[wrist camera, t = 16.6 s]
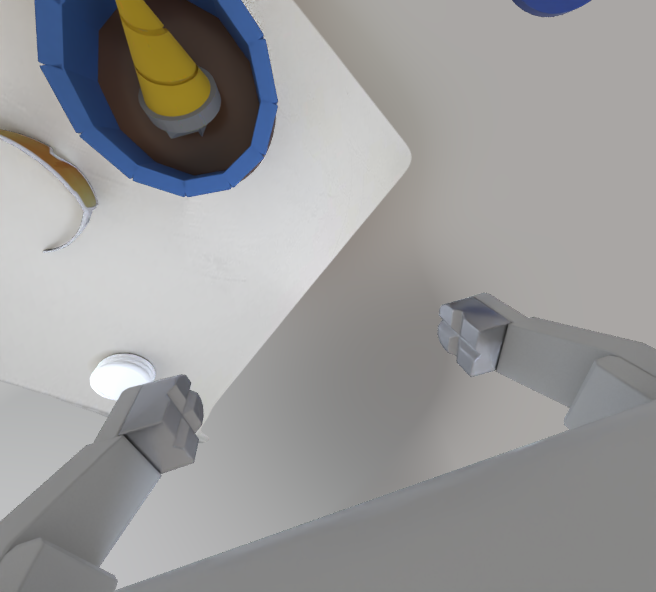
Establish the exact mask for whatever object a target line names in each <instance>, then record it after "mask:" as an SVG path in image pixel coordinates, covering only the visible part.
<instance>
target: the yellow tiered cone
mask: <svg viewBox="0 0 656 592" xmlns="http://www.w3.org/2000/svg"><path fill="white" fill-rule="evenodd" d="M115 1H116V4H117V8H118V10H119V15H120V18H121V21H122V25H123V28H124V32H125V35H126V39H127V42H128V46H129V49H130V53H131V56H132V60H133V63H134V66H135V70H136V73H137V77H138V80H139V84H140V89H139V94H138V98H139V103H140V106H141V107H142V109H143V110H144V112H145V113H146V114H147V116H148V117H149V119H150V120H151V121H152V123H153V124H154V125H155V126H157V127H158V128H160V129H162V130H164V131H166V132H167V134H168V135H169V137H170V138H171V139H173V138H177V137H180V136H184V135H188V134H191V133H195V132H199V133H200V135H201V136H203V134H204V131H205V128H206V126H207V124H208V123H209V122H211V121H212V120H213V119H214V117H215V116H216V115H217V113H218V112H219V109H220V106H221V97H220V93H219V91H218V88H217V86H216V83H215V81H214V79H213V76H212V75H211V74H210V73H209V72H208V71H207V70H205V69H204V68H202V67H200V66H197V65H196V64H195V62H194V61H193V60H192V59H191V57H190V56H189V55H188V54H187V53H186V51H185V50H184V49H183V48H182V46H181V45H180V44H179V43H178V42H177V40H176V39H175V38H174V37H173V36H172V34H171V33H170V32H169V31H168V30H167V29H166V28H162V27H163V26H164V25H163V24H162V22H161V21H160V20H159V19H158V17H157V16H156V15H155V14H154V13H153V11H152V10H151V9H150V8H149V7H148V5H147V4H146V3H145V2H144V1H143V0H115Z"/></svg>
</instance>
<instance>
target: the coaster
mask: <svg viewBox="0 0 656 592" xmlns="http://www.w3.org/2000/svg"><path fill="white" fill-rule="evenodd" d="M154 379H155V369H154V367H153V366H152V364H151V363H150V362H148V361H147V360H146V359H144V358H142V357H140V356H137V355H133V354H115V355H112V356H109V357H107V358H105V359H104V360H102V361H101V362H100V363H99V365H98V366H97V367H96V369H95V370H94V371H93V373H92V374H91V377H90V384H91V386H92V388H93V389H94V391H96V392H97V393H98V394H99V395H101V396H103V397H105V398H107V399H111V400H116V401H117V400H118V398H119V397H120V395H121V393H122V392H123V391H124V390H126V389H127V388H130V387H134V386H138V385H142V384H146V383H149V382H153V381H154Z"/></svg>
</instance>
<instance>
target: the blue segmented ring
mask: <svg viewBox="0 0 656 592" xmlns="http://www.w3.org/2000/svg"><path fill="white" fill-rule="evenodd" d="M187 1H189V2H191V3H193V4H195V5H196V6H198V7H200V8H202V9H203V10H205V11H207V12H209V13H210V14H212V15H214V16H216V17H217V18H219V20H220V21H221V22H222V24H223V25H224V27H225V28H226V29H227V31H228V32H229V34H230V35H231V36H232V38H233V39H234V41H235V42H236V43H237V45H238V46H239V48H240V49H241V50H242V52H243V53H244V55H245V56H246V57H247V59H248V60H249V62H250V65H251V70H252V74H253V79H254V83H255V87H256V92H257V96H258V100H259V105H260V106H259V110H258V115H257V119H256V124H255V128H254V132H253V137H252V141H251V146H250V147H249V148H248V149H247V150H246V151H245V152H244V153H243V154H242V155H241V156H240V157H239V158H238V159H237V160H236V161H235V162H234V163H233V164H232V165H231V166H230V167H229V168H228V169H227V170H223V171H218V172H212V173H206V174H201V175H195V176H194V175H191V174H188V173H185V172H182V171H179V170H176V169H174V168H171V167H168V166H165V165H162V164H159V163H156V162H155V161H154V160H153V159H152V158H151V157H149V156H148V155H147V154H146V153H145V152H144V151H143V150H142V149H141V148H140V147H139V146H138V145H136V144H135V143H134V142H133V141H132V140H131V139H130V138H129V137H128V136H127V135H126V134H125V133H124V132H122V131H121V130H120V128H119V126H118V123H117V121H116V119H115V117H114V115H113V113H112V111H111V109H110V107H109V104H108V102H107V100H106V98H105V96H104V94H103V92H102V90H101V87H100V85H99V83H98V40H99V30H100V29H101V27H102V26H103V25H104V24H105V22H106V21H107V20H108V19H109V17H110V16H111V15H112V14H113V12H114V11H115V10H116V9H117V4H116V1H115V0H35V16H36V33H37V50H38V61H39V62H40V63H43V64H45V65H42V66H40V68H41V70H42V71H43V73H44V75H45V77H46V79H47V80H48V82H49V84H50V86H51V88H52V90H53V91H54V93H55V95H56V97H57V99H58V101H59V102H60V104H61V106H62V108H63V110H64V111H65V113H66V115H67V117H68V119H69V121H70V122H71V124H72V126H73V128H74V130H75V131H76V133H81V135H80V137H81V138H82V139H83V140H84V141H86V142H87V143H88V144H89V145H90V146H91V147H93V148H94V149H95V150H96V151H97V152H99V153H100V154H101V155H102V156H103V157H104V158H106V159H107V160H108V161H109V162H110V163H112V164H113V165H114V166H115V167H116V168H117V169H119V170H120V171H121V172H122V173H123V174H125V175H126V176H127V177H128V178H129V179H131V178H133V181H135V182H138V183H141V184H144V185H148V186H151V187H154V188H157V189H160V190H163V191H166V192H170V193H173V194H176V195H179V196H182V197H185V196H187V197H192V196H197V195H202V194H208V193H213V192H218V191H224V190H229V189H231V188H232V187H235V186H236V185H237V184H238V183H239V182H240V181H241V180H242V179H243V178H244V177H245V176H246V175H247V174H248V173H249V172H250V171H251V170H252V169H253V168H254V167H255V166H256V165H257V164H258V163H259V162H260V161H261V160H262V159H263V158H264V157H263V155H266V152H267V148H268V144H269V140H270V136H271V132H272V128H273V124H274V120H275V116H276V112H277V108H278V106H277V102H278V99H277V94H276V89H275V84H274V79H273V74H272V69H271V64H270V59H269V54H268V49H267V44H266V40H265V39H263V33H262V31H261V30H260V28H259V27H258V25H257V24H256V22H255V20H254V19H253V17H252V16H251V14H250V13H249V11H248V10H247V8H246V7H245V5H244V4H243V2H242V1H241V0H187ZM262 154H263V155H262Z"/></svg>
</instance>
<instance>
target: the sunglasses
mask: <svg viewBox="0 0 656 592" xmlns="http://www.w3.org/2000/svg"><path fill="white" fill-rule="evenodd" d="M0 139H1V140H3V141H5V142H7V143H10V144H12V145H13V146H15V147H17V148H19V149H20V150H22V151H23V152H25V153H26V154H28V155H29V156H31V157H32V158H34V159H35V160H37V161H38V162H39V163H40V164H42V165H43V166H44V167H45V168H47V169H48V170H49V171H50V172H52V173H53V174H54V175H55V176H56V177H57V178H58V179H59V180H60V181H61V182H62V183H63V184H64V185H65V187H66V188H67V189H68V190H69V191H70V193H71V194H73V195H74V196H75V198H76V199H77V200H78V202H79V204H80V206H81V208H82V210H83V211H84V212H83V215H84V216H83V217H82V221H81V225H80V227H79V229H78V231H77V233H76V235H75V236H74V237H73V238H72V239H71V240H70V241H69V242H67V243H66V244H64V245H62V246H60V247H57V248H54V249H48V250H44V251H43V253H45V252H52V251H56V250H59V249H62V248H64V247H66V246H68V245H69V244H71V243H72V242H73V241H74V240H75V239H76V238H77V237H78V236H79V235H80V234H81V233H82V231H83V230H84V229H85V227H86V226H87V224H88V223H89V220H90V217H91V214H92V210H94V209H96V207H97V206H98V201H97V197H96V195H95V193H94V190H93V188H92V186H91V185H90V183H89V182H88V180H87V179H86V177H85V176H84V175H83V173H82V172H81V171H80V170H79V169H78V168H77V167H76V166H74V165H73V164H71V163H70V162H68V161H66V160H64V159H62V158H59V157H58V156H56V155H55V154H54V153H53V149H52V147H50V146H48V145H46V144H44V143H43V142H40V141H38V140H36V139H34V138H31V137H29V136H26V135H23V134H19V133H16V132H12V131H7V130H2V129H0Z"/></svg>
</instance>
